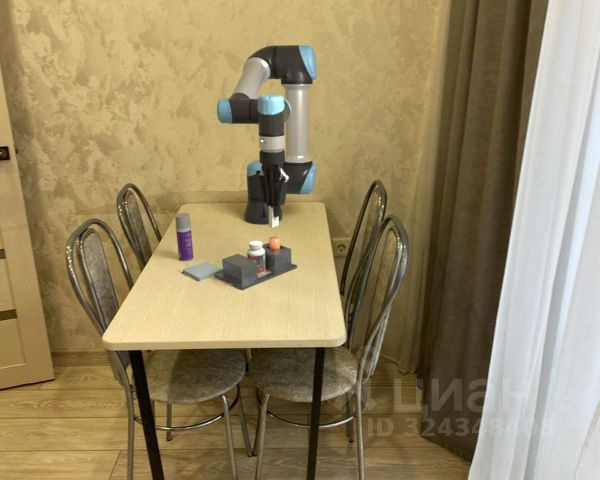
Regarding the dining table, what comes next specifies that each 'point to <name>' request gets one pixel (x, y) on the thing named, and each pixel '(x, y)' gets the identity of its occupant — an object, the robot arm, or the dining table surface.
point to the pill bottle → (257, 255)
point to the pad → (202, 270)
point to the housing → (255, 267)
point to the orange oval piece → (274, 243)
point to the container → (184, 237)
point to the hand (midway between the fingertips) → (273, 225)
